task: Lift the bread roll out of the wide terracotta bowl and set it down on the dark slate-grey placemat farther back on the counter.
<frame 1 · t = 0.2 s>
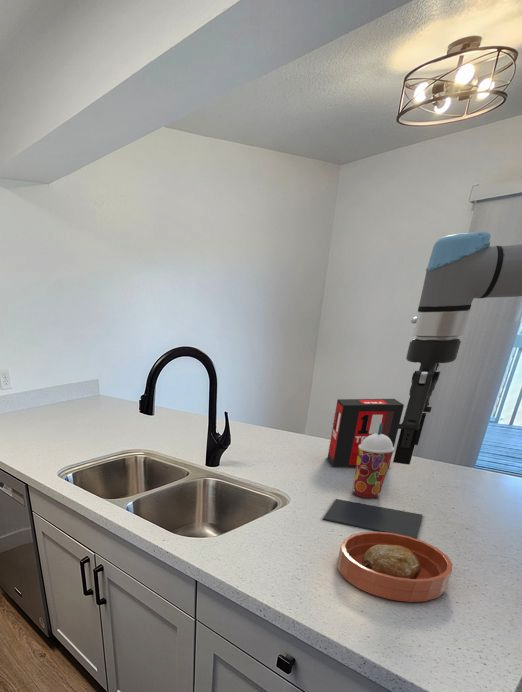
hand: (405, 453, 87), 22 cm above the worktop, tool pointing down, fingers open, 13 cm apart
cleaning product box: (356, 463, 144), on the worktop
smoothie: (365, 494, 122), on the worktop
bowl: (388, 575, 87), on the worktop
bread roll: (388, 574, 87), resting on bowl
placemat: (372, 517, 109), on the worktop
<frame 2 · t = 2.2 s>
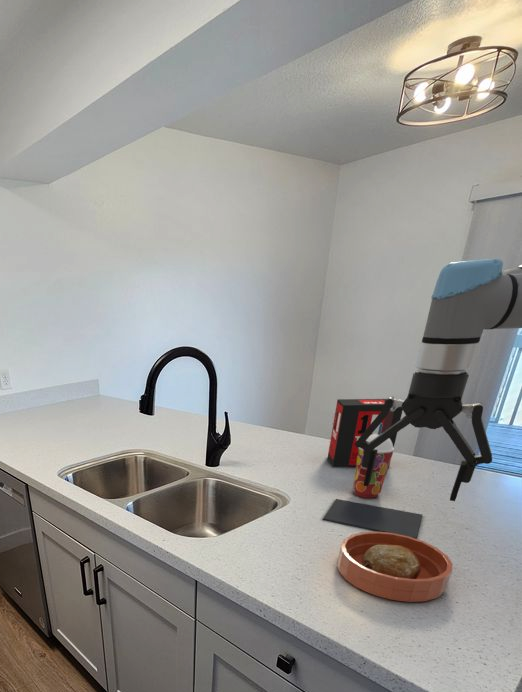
hand: (407, 490, 80), 18 cm above the worktop, tool pointing down, fingers open, 13 cm apart
nothing on the worktop moved.
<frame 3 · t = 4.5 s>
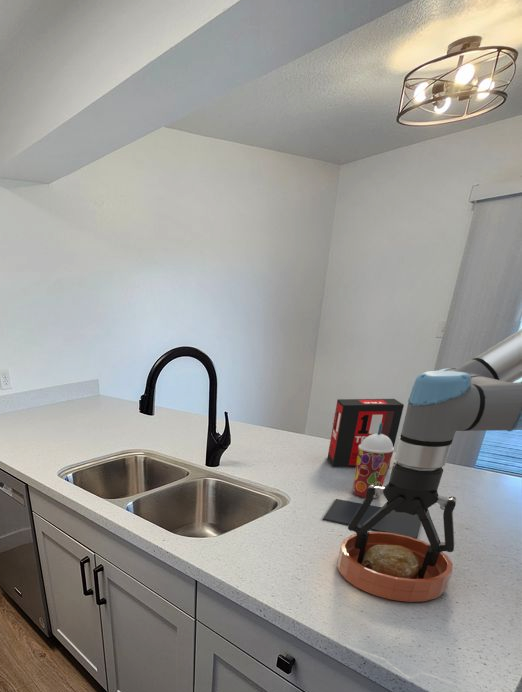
hand: (389, 569, 87), 1 cm above the worktop, tool pointing down, fingers closed on bread roll, 10 cm apart
bread roll: (388, 574, 87), resting on bowl, touching gripper
everything else where it was.
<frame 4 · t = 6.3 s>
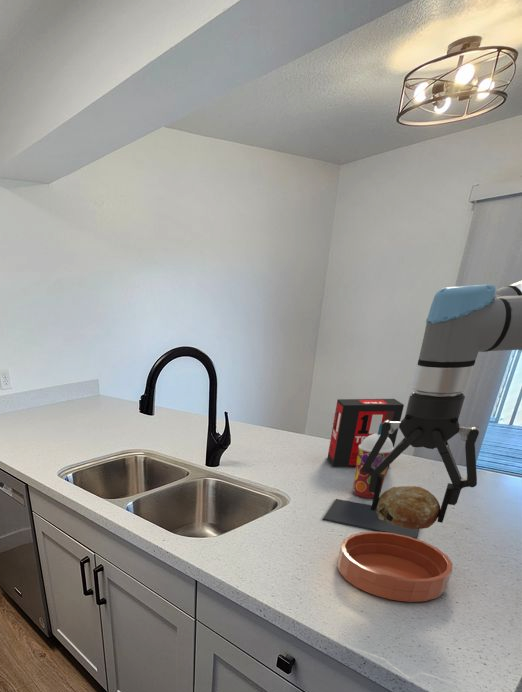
hand: (405, 513, 82), 14 cm above the worktop, tool pointing down, fingers closed on bread roll, 10 cm apart
bread roll: (405, 518, 82), point 13 cm above the worktop, touching gripper
everything else where it was.
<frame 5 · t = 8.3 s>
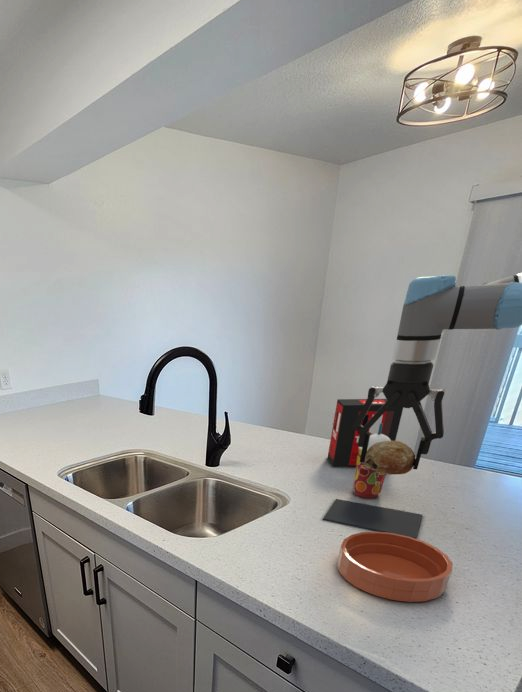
hand: (388, 463, 100), 15 cm above the worktop, tool pointing down, fingers closed on bread roll, 10 cm apart
bread roll: (387, 467, 100), point 14 cm above the worktop, touching gripper
everything else where it was.
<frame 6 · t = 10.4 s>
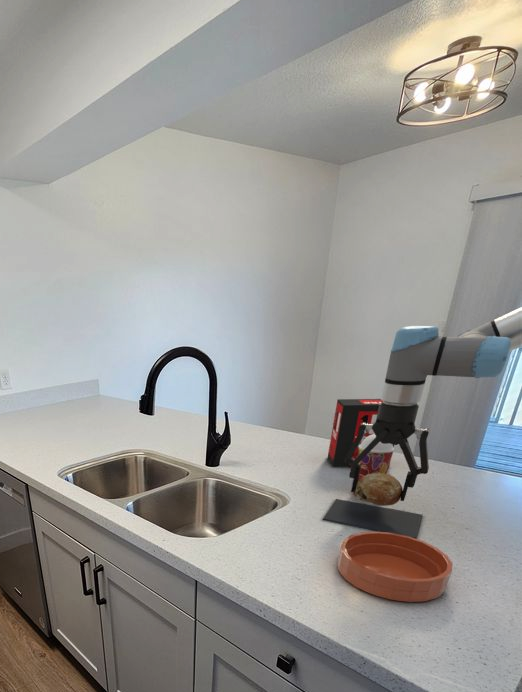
hand: (377, 494, 106), 6 cm above the worktop, tool pointing down, fingers closed on bread roll, 10 cm apart
bread roll: (377, 498, 107), point 5 cm above the worktop, touching gripper
everything else where it was.
when the fingers open (1 cm above the worktop, at t = 12.2 s): bread roll stays where it is, resting on placemat.
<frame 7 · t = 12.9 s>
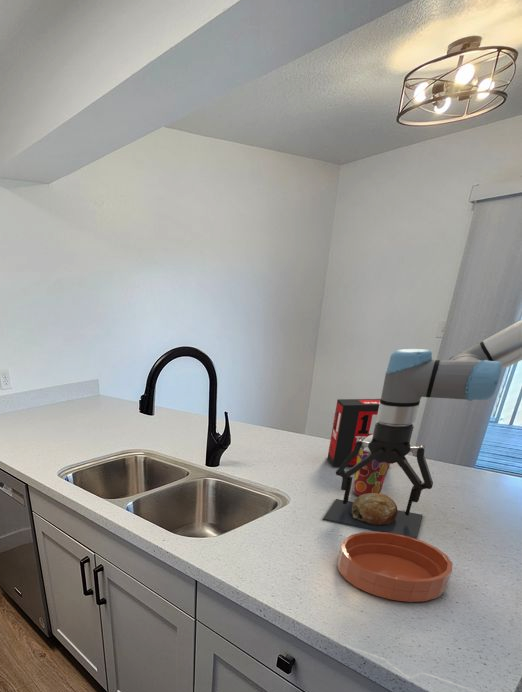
hand: (375, 507, 108), 3 cm above the worktop, tool pointing down, fingers open, 13 cm apart
bread roll: (372, 517, 109), resting on placemat
everything else where it was.
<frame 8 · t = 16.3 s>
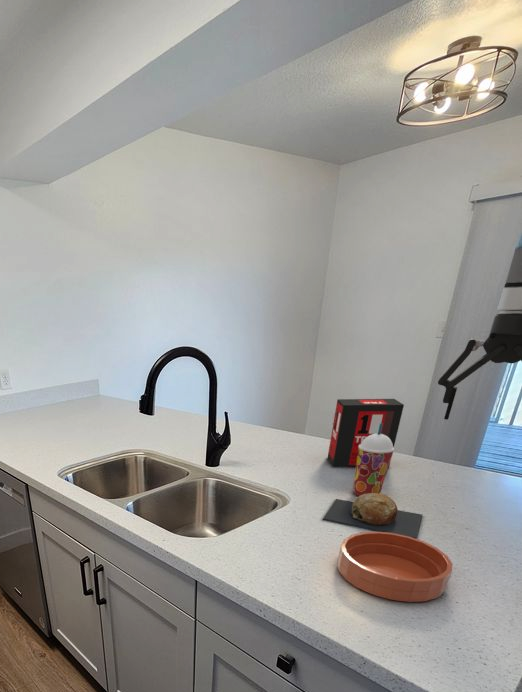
hand: (484, 421, 94), 25 cm above the worktop, tool pointing down, fingers open, 13 cm apart
nothing on the worktop moved.
at the end: bread roll inside the target area on the placemat (0.1 cm from its centre), point 0.2 cm above the placemat's base; the gripper is holding nothing; bread roll 0.1 cm from the placemat (horizontally) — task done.
